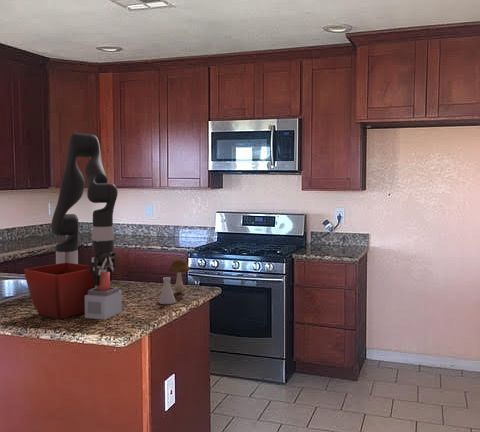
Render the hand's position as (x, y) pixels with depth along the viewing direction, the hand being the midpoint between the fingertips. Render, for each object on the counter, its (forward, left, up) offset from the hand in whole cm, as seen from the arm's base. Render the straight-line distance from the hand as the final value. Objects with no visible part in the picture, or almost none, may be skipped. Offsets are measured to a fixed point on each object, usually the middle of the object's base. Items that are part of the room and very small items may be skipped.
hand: (103, 283), depth 207 cm
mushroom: (+10, +44, -12) cm, 47 cm away
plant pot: (-15, -3, -12) cm, 20 cm away
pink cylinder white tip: (0, 0, -4) cm, 4 cm away
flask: (+14, +25, -12) cm, 31 cm away
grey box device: (0, 0, -12) cm, 12 cm away
